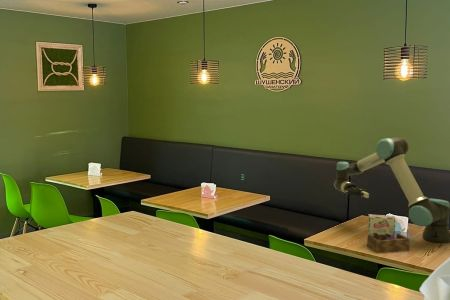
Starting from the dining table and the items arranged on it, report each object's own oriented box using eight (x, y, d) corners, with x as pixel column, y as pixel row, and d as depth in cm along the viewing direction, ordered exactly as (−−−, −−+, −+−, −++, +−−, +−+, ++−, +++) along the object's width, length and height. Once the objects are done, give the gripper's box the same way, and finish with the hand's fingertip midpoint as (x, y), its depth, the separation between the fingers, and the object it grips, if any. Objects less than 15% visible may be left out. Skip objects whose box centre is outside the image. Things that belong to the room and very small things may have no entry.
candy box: (367, 245, 251) (368, 216, 250) (367, 242, 257) (368, 213, 255) (394, 247, 248) (395, 218, 246) (392, 244, 254) (394, 215, 252)
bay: (398, 243, 254) (399, 233, 253) (409, 249, 244) (409, 239, 243) (367, 246, 251) (367, 235, 250) (376, 252, 241) (377, 241, 240)
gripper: (358, 193, 292) (377, 201, 269) (339, 194, 289) (357, 202, 266) (358, 182, 291) (377, 188, 268) (339, 183, 289) (357, 189, 266)
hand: (367, 195), depth 267 cm, fingers closed
